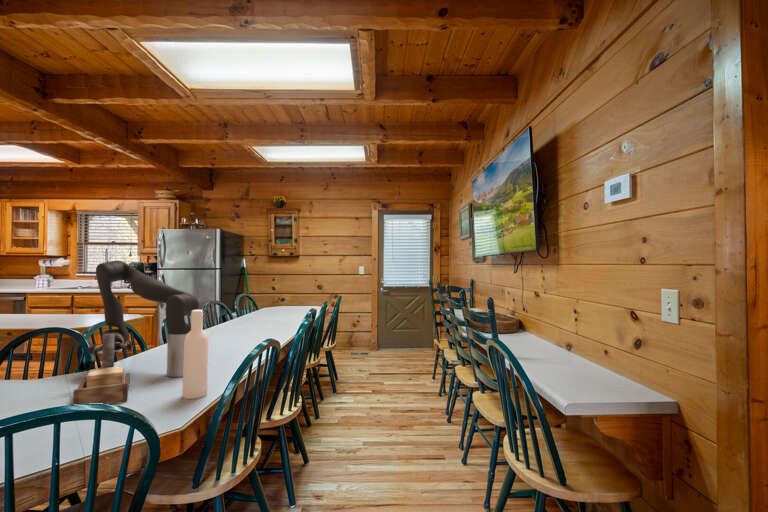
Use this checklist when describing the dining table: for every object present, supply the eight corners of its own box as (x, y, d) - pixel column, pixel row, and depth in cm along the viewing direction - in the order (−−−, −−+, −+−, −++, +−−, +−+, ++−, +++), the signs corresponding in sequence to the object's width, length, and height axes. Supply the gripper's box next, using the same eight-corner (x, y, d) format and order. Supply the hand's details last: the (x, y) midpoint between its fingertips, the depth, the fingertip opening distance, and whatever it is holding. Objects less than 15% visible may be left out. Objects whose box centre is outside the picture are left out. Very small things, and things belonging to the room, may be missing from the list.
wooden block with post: (124, 379, 145) (125, 332, 146) (122, 389, 134) (123, 338, 135) (90, 383, 140) (92, 334, 140) (86, 393, 129) (87, 341, 129)
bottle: (194, 400, 128) (196, 312, 128) (176, 397, 131) (179, 310, 131) (212, 393, 135) (214, 309, 136) (195, 390, 138) (197, 308, 139)
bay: (129, 384, 143) (130, 368, 143) (127, 401, 126) (127, 383, 126) (82, 390, 135) (83, 373, 135) (73, 409, 118) (73, 390, 119)
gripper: (92, 336, 158) (87, 343, 145) (133, 333, 166) (131, 340, 152) (91, 354, 158) (86, 363, 145) (132, 350, 166) (131, 358, 152)
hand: (109, 351), depth 149 cm, fingers open, 8 cm apart
